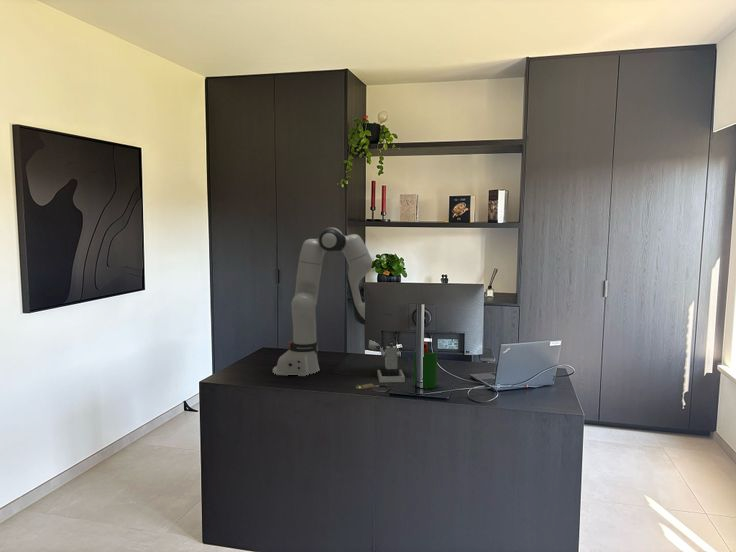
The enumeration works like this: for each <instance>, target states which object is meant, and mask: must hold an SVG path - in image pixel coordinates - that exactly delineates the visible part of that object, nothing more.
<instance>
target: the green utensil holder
mask: <svg viewBox="0 0 736 552" xmlns="http://www.w3.org/2000/svg"><path fill="white" fill-rule="evenodd" d="M428 345H429V344H428V342H424V357H423V388H425V389H424V390H431V389H430V388H433V389H436V388H437V387H438V386H437V384H438V353H439V351H438V350H435V351H434V352H430V351H429V350H428V349H429V347H428ZM428 351H429V352H428ZM413 356H414V357H413V358H414V360H413V386H414V387H415V383H416V349H414V355H413ZM436 386H437V387H436ZM435 387H436V388H435ZM428 388H429V389H428Z"/></svg>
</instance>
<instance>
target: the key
mask: <svg viewBox="0 0 736 552" xmlns="http://www.w3.org/2000/svg"><path fill="white" fill-rule="evenodd" d="M374 387H375V385H374V384H373V383H367V384H359V385H358V384H357V385H356V386H355V389H356V390H363V389H369V388H374Z"/></svg>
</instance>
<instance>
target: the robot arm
mask: <svg viewBox="0 0 736 552" xmlns="http://www.w3.org/2000/svg"><path fill="white" fill-rule="evenodd" d="M326 252H328V253H329V252H333V253H334V252H342V253H343V255H344V257H345V259H346V262H347V265H348V272H347V274H346V283H347V288H348V293H349V295H350V296H349V297H350V300H351V301H350V302H351V305H352V311H353V317H354V320H355V321H356V322H357V323H358V324H361V325H363V326H365V302H363V300H362V296H361V293H360V288H359V285H360V282H361V280H362V279H364V277H366V275H367V274H369V272H370V270H371V269H372V265H373V260H372V256H371V254H370V252H369V249H368V248H367V246H366V244H365V242H364V240H363V239H362V237H361V236H360V235H359V234H356V233H355V234H354V233H353V234H349V235H345V234H344V233H343V232H342V230H341V229H339V228H338V227H331V226H330V227H327V228H325V229H323V230H322V231H321V232H320V233H319V235H318V238H309V239H305V240H304V241H303V244H302V246H301V250H300V253H299V257H298V258H299V259H298V265H297V270H296V282H295V291H294V296H293V298H292V300H291V318H292V319H291V320H292V338H293V339H292V340H289V341H288V350H287V351H286V352H284V353H283V354H281V355H280V356H279V358H278V359H277V364H276V365H275V366H274V367H272V374H273V373H274V374H273V375H275V374H276V375H275V376H288V375H298V376H297V377H307V376H309V374H310V375H313V373H314V374H317V373H319V372H320V370H321V369H320V366H319V359H318V351H319V349H318V348H319V347H318V341H317V319H316V318H317V317H316V305H317V304H318V297H319V290H320V280H321V273H322V267H323V260H324V256H325V254H326ZM376 346H380V345H379V344H378V343H376V342H375V341H372V340H369V339H368V349H370V350H378V349H377V348H376ZM379 352H380V353H381V355H382V358H385V357H386V352H385V350H384V349H383V347H382V348H381V347H380V349H379ZM401 352H402V350H401V351H399V350H397V358H398V357H401ZM318 371H319V372H318ZM316 372H317V373H316ZM306 375H307V376H306Z"/></svg>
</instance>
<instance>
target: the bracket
mask: <svg viewBox="0 0 736 552" xmlns="http://www.w3.org/2000/svg"><path fill="white" fill-rule="evenodd" d="M376 373H377V374H376V375H377V379H378V382H379V383H381V384H382V383H405V381H406V379H405V378H406V376H405V374H404V372H403V370H402V369H398V375H392V376H391V375H388V376H387V375H384V376H383V375H382V372H381V370H380V369H377V372H376Z"/></svg>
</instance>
